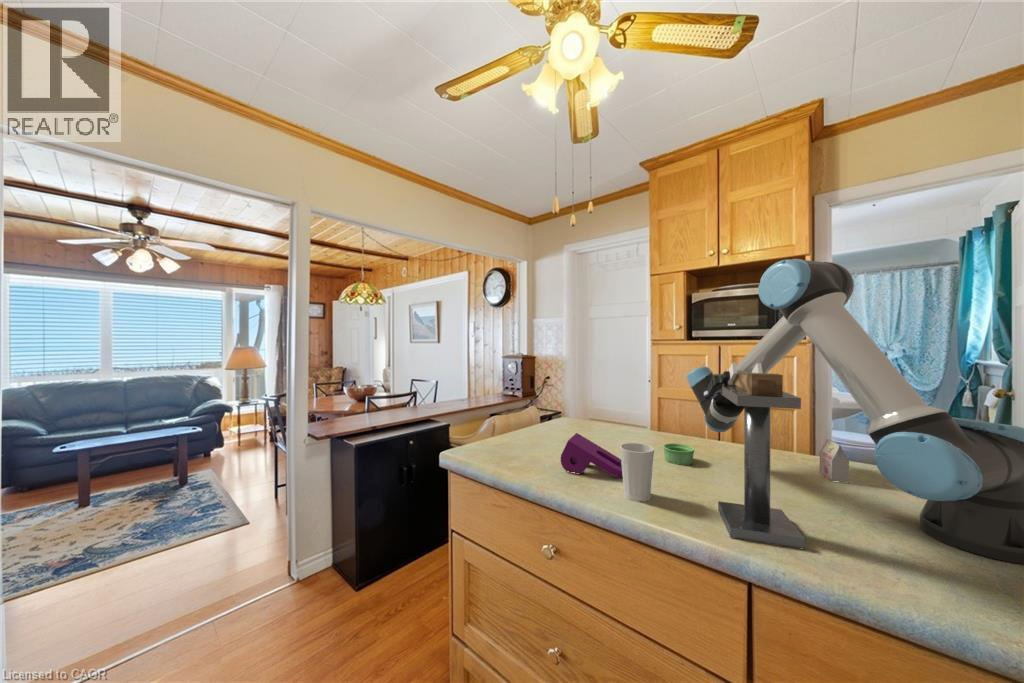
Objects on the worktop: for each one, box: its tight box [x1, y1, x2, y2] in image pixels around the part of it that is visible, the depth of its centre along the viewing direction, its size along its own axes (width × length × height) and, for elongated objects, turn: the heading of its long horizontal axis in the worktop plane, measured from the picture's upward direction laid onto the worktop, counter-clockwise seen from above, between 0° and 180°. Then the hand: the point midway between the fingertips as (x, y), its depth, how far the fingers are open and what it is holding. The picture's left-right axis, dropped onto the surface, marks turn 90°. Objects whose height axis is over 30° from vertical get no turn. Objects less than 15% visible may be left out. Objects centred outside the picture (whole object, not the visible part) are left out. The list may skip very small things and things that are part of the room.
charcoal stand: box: [717, 386, 806, 550], centre depth 74 cm, size 15×12×28 cm
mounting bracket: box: [560, 432, 623, 479], centre depth 107 cm, size 9×8×18 cm
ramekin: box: [663, 442, 695, 466], centre depth 115 cm, size 9×9×4 cm
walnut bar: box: [728, 369, 784, 396], centre depth 79 cm, size 22×5×4 cm, turn 162°
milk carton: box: [819, 438, 850, 483], centre depth 100 cm, size 4×7×10 cm, turn 162°
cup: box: [619, 442, 655, 502], centre depth 90 cm, size 8×8×12 cm
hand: (747, 368), depth 81 cm, fingers open, 4 cm apart
